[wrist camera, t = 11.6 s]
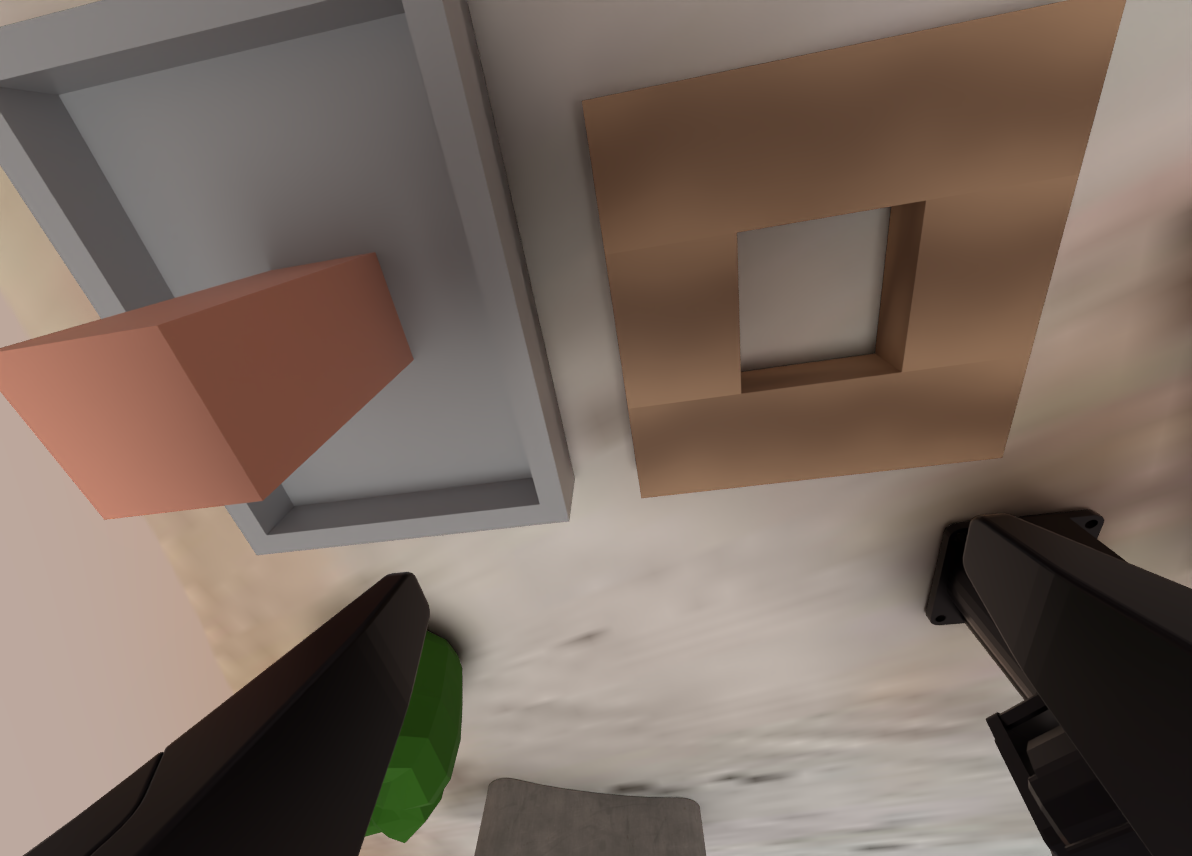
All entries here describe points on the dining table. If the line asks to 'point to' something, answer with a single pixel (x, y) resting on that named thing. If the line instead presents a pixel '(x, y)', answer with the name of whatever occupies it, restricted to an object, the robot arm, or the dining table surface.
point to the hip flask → (585, 823)
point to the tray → (307, 227)
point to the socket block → (835, 187)
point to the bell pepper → (423, 745)
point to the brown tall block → (209, 386)
